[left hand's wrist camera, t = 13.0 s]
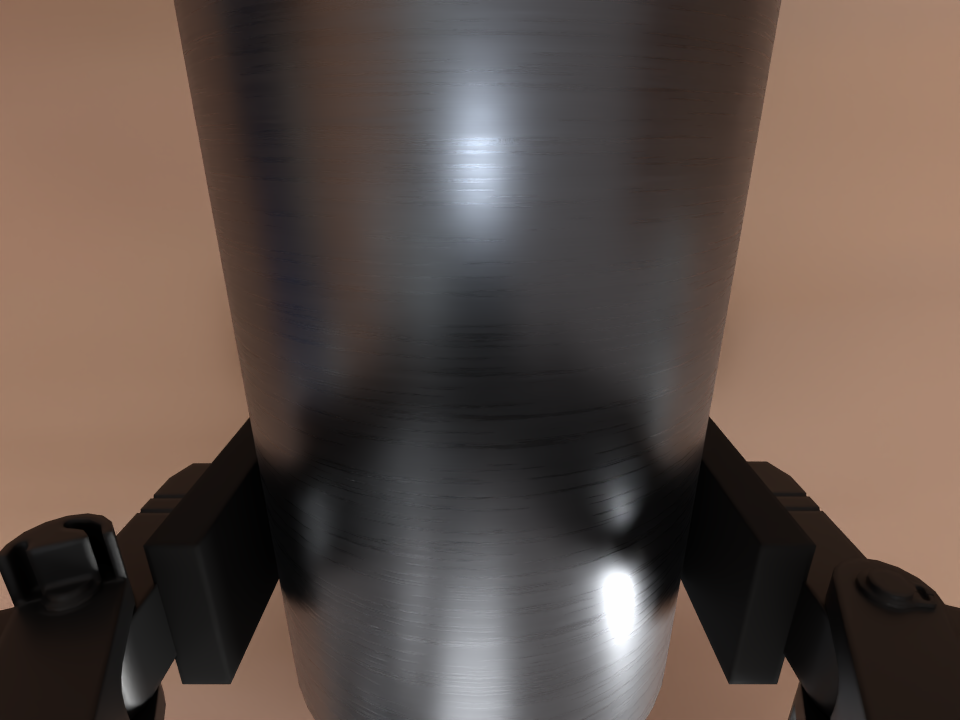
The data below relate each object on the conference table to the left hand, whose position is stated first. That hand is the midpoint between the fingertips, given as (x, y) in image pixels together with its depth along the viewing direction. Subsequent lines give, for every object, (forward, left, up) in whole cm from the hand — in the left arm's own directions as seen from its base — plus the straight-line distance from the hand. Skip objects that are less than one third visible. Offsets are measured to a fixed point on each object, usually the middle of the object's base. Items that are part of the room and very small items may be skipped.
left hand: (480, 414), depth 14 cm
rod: (+10, 0, 0) cm, 10 cm away
